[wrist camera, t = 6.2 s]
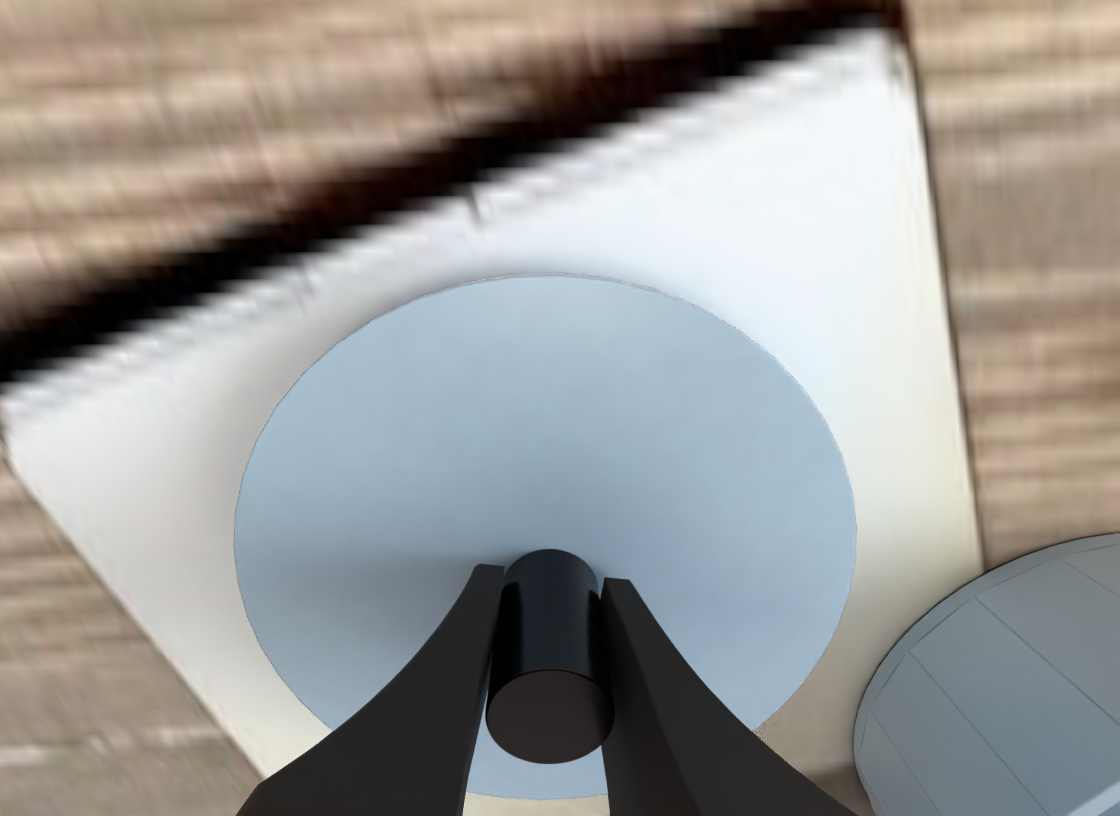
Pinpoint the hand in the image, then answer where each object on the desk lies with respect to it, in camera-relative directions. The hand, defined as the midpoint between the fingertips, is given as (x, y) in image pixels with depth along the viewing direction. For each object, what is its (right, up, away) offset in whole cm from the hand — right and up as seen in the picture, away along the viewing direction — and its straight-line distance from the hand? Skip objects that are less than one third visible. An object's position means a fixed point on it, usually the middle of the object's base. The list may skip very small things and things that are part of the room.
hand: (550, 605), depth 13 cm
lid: (0, 0, +1) cm, 1 cm away
